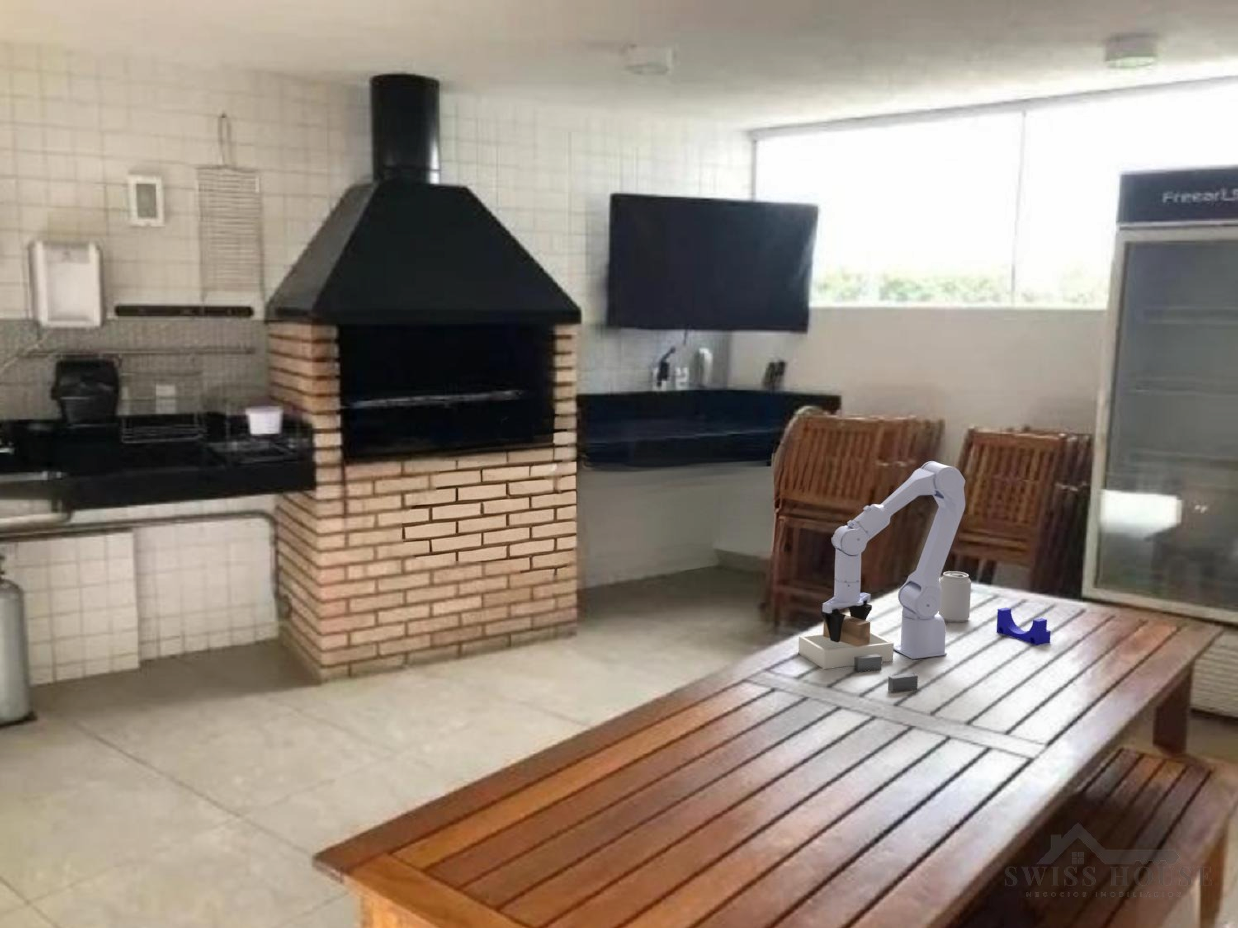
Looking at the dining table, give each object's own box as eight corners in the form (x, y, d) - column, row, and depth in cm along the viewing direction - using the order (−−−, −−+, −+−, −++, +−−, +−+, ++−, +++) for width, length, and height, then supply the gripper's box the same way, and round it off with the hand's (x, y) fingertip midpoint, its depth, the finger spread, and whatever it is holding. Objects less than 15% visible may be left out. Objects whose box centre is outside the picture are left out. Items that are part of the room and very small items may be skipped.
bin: (864, 645, 247) (865, 628, 246) (893, 660, 236) (893, 643, 235) (798, 652, 241) (798, 636, 240) (824, 668, 230) (824, 651, 230)
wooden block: (834, 632, 243) (835, 612, 242) (869, 643, 235) (870, 621, 234) (823, 636, 240) (823, 615, 240) (858, 646, 233) (859, 625, 232)
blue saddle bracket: (1049, 643, 249) (1051, 618, 248) (1037, 646, 247) (1038, 621, 246) (1009, 630, 259) (1010, 606, 258) (996, 632, 257) (997, 609, 256)
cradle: (877, 666, 231) (878, 653, 231) (917, 689, 217) (917, 675, 217) (853, 669, 229) (854, 656, 229) (892, 692, 216) (892, 678, 215)
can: (973, 623, 264) (975, 577, 262) (943, 623, 264) (945, 576, 263) (964, 614, 271) (966, 569, 270) (935, 614, 272) (937, 569, 270)
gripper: (840, 588, 228) (839, 648, 230) (882, 577, 237) (880, 635, 239) (815, 582, 234) (814, 640, 236) (857, 572, 243) (855, 628, 245)
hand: (845, 637), depth 238 cm, fingers open, 7 cm apart
